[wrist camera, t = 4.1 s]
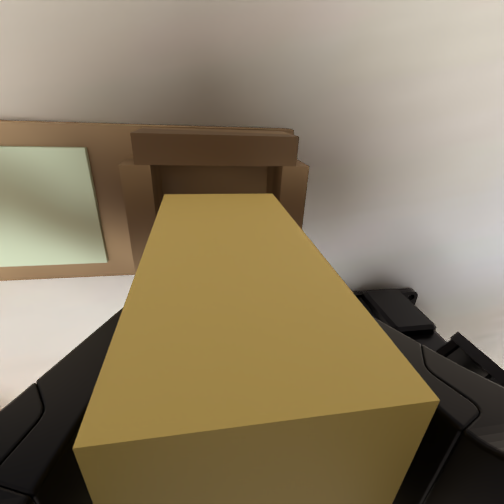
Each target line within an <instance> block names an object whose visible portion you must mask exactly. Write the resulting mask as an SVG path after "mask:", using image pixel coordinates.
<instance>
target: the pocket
mask: <svg viewBox="0 0 504 504" xmlns="http://www.w3.org/2000/svg"><path fill="white" fill-rule="evenodd" d="M130 136H131V143H132V151H133V154H132V155H130V156H129V157H128V158H127V159H125V160H124V161H123V162H122V163H120V164H119V171H120V178H121V184H122V191H123V197H124V204H125V210H126V216H127V223H128V229H129V236H130V242H131V249H132V255H133V261H134V268H135V274H136V271H137V269H138V266H139V263H140V260H141V258H142V255H143V252H144V249H145V246H146V244H147V241H148V238H149V235H150V233H151V230H152V227H153V224H154V222H155V219H156V216H157V213H158V211H159V208H160V205H161V202H162V200H163V193H162V182H161V172H160V165H190V166H268V170H267V187H266V194H273V195H274V196H275V197H276V199H277V200H278V201H279V202H280V203H281V205H282V206H283V207H284V208H285V210H286V211H287V212H288V213H289V215H290V216H291V217H292V218H293V220H294V221H295V222H296V223H297V224H298V226H299V227H300V228H301V229H302V224H303V215H304V207H305V199H306V190H307V182H308V173H309V166H308V165H306V164H304V163H302V162H301V161H299V160H297V152H298V142H299V137H298V136H295V135H292V134H289V133H286V132H283V131H267V130H231V129H195V128H159V127H142V128H140V129H138V130H135V131H133V132H131V133H130Z"/></svg>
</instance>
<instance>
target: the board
mask: <svg viewBox="0 0 504 504" xmlns="http://www.w3.org/2000/svg"><path fill="white" fill-rule="evenodd" d="M142 127H159V128H195V129H231V130H267V131H283V132H286V133H289V134H292V135H294V130H292V129H284V128H249V127H215V126H180V125H146V124H111V123H76V122H42V121H7V120H0V281H7V280H28V279H50V278H71V277H93V276H115V275H135V268H134V261H133V255H132V249H131V242H130V236H129V229H128V223H127V216H126V210H125V204H124V197H123V191H122V184H121V178H120V171H119V164H120V163H122V162H123V161H124V160H125V159H127V158H128V157H129V156H130V155H132V154H133V151H132V143H131V136H130V133H131V132H133V131H135V130H138V129H140V128H142ZM267 170H268V166H190V165H160V172H161V182H162V193H163V197H164V194H266V187H267Z"/></svg>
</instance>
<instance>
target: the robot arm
mask: <svg viewBox="0 0 504 504" xmlns="http://www.w3.org/2000/svg"><path fill="white" fill-rule="evenodd" d="M353 293H354V295H355V296H356V297H357V298H358V300H359V301H360V302H361V303H362V305H363V306H364V307H365V308H366V309H367V311H368V312H369V313H370V314H371V316H372V317H373V318H374V319H375V321H376V322H377V323H378V324H379V326H380V327H381V328H382V329H383V330H384V332H385V333H386V334H387V335H388V337H389V338H390V339H391V340H392V342H393V343H394V344H395V345H396V346H397V348H398V349H399V350H400V351H401V353H402V354H403V355H404V356H405V358H406V359H407V360H408V361H409V362H410V364H411V365H412V366H413V367H414V369H415V370H416V371H417V372H418V374H419V375H420V376H421V377H422V379H423V380H424V381H425V382H426V383H427V385H428V386H429V387H430V388H431V390H432V391H433V392H434V393H435V395H436V396H437V397H438V398H439V399H440V402H439V404H438V406H437V408H436V410H435V413H434V415H433V417H432V419H431V421H430V423H429V425H428V428H427V430H426V432H425V434H424V436H423V438H422V441H421V443H420V445H419V447H418V449H417V451H416V453H415V456H414V458H413V460H412V462H411V464H410V466H409V468H408V471H407V473H406V475H405V477H404V479H403V481H402V484H401V486H400V488H399V490H398V492H397V494H396V496H395V499H394V501H393V503H392V504H504V370H503V369H501V368H500V367H499V366H498V365H497V364H496V363H494V362H493V361H492V360H491V359H490V358H488V357H487V356H486V355H485V354H484V353H483V352H481V351H480V350H479V349H478V348H477V347H475V346H474V345H473V344H472V343H471V342H470V341H468V340H467V339H466V338H465V337H464V336H462V335H461V334H460V333H459V332H457V333H456V334H454V335H453V336H452V337H450V338H451V340H450V341H448V342H446V341H445V340H444V339H443V338H442V337H441V336H440V335H439V334H438V333H437V332H436V331H435V329H436V326H435V325H434V323H433V322H432V321H431V320H430V319H429V318H427V317H426V316H425V315H424V314H423V313H422V312H421V311H420V310H419V309H418V308H417V307H416V306H415V302H416V299H417V296H418V294H417V293H416V292H415V291H414V290H413V289H387V290H371V291H364V292H353ZM122 310H123V308H122V309H121V310H120V311H118V312H117V313H116V314H115V315H114V316H112V317H111V318H110V319H109V320H108V321H107V322H105V323H104V324H103V325H102V326H101V327H99V328H98V329H97V330H96V331H95V332H94V333H92V334H91V335H90V336H89V337H88V338H86V339H85V340H84V341H83V342H82V343H81V344H79V345H78V346H77V347H76V348H75V349H73V350H72V351H71V352H70V353H69V354H68V355H66V356H65V357H64V358H63V359H62V360H60V361H59V362H58V363H57V364H56V365H55V366H53V367H52V368H51V369H50V370H49V371H47V372H46V373H45V374H44V375H43V376H42V377H40V378H39V379H38V380H37V381H36V383H37V384H36V383H33V384H32V385H31V386H30V387H28V388H27V389H26V390H25V391H24V392H22V393H21V394H20V395H19V396H18V397H17V398H15V399H14V400H13V401H12V402H10V403H9V404H8V405H7V406H5V407H4V408H3V409H2V410H1V411H0V504H93V502H92V499H91V497H90V494H89V492H88V489H87V486H86V484H85V481H84V478H83V476H82V473H81V470H80V468H79V465H78V462H77V460H76V457H75V454H74V452H73V449H72V448H73V445H74V443H75V440H76V437H77V434H78V432H79V429H80V426H81V423H82V420H83V418H84V415H85V412H86V409H87V407H88V404H89V401H90V398H91V396H92V393H93V390H94V387H95V385H96V382H97V379H98V376H99V374H100V371H101V368H102V365H103V362H104V360H105V357H106V354H107V351H108V349H109V346H110V343H111V340H112V338H113V335H114V332H115V329H116V327H117V324H118V321H119V318H120V316H121V313H122Z"/></svg>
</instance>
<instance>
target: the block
mask: <svg viewBox="0 0 504 504" xmlns="http://www.w3.org/2000/svg"><path fill="white" fill-rule="evenodd" d="M439 402H440V399H439V398H438V397H437V396H436V395H435V393H434V392H433V391H432V390H431V388H430V387H429V386H428V385H427V383H426V382H425V381H424V380H423V379H422V377H421V376H420V375H419V374H418V372H417V371H416V370H415V369H414V367H413V366H412V365H411V364H410V362H409V361H408V360H407V359H406V358H405V356H404V355H403V354H402V353H401V351H400V350H399V349H398V348H397V346H396V345H395V344H394V343H393V342H392V340H391V339H390V338H389V337H388V335H387V334H386V333H385V332H384V330H383V329H382V328H381V327H380V326H379V324H378V323H377V322H376V321H375V319H374V318H373V317H372V316H371V314H370V313H369V312H368V311H367V309H366V308H365V307H364V306H363V305H362V303H361V302H360V301H359V300H358V298H357V297H356V296H355V295H354V293H353V292H352V291H351V290H350V289H349V287H348V286H347V285H346V284H345V282H344V281H343V280H342V279H341V277H340V276H339V275H338V274H337V273H336V271H335V270H334V269H333V268H332V266H331V265H330V264H329V263H328V261H327V260H326V259H325V258H324V256H323V255H322V254H321V253H320V252H319V250H318V249H317V248H316V247H315V245H314V244H313V243H312V242H311V240H310V239H309V238H308V237H307V236H306V234H305V233H304V232H303V231H302V229H301V228H300V227H299V226H298V224H297V223H296V222H295V221H294V220H293V218H292V217H291V216H290V215H289V213H288V212H287V211H286V210H285V208H284V207H283V206H282V205H281V203H280V202H279V201H278V200H277V199H276V197H275V196H274V195H273V194H164V197H163V200H162V202H161V205H160V208H159V211H158V213H157V216H156V219H155V222H154V224H153V227H152V230H151V233H150V235H149V238H148V241H147V244H146V246H145V249H144V252H143V255H142V258H141V260H140V263H139V266H138V269H137V271H136V274H135V277H134V280H133V282H132V285H131V288H130V291H129V293H128V296H127V299H126V302H125V304H124V307H123V310H122V313H121V316H120V318H119V321H118V324H117V327H116V329H115V332H114V335H113V338H112V340H111V343H110V346H109V349H108V351H107V354H106V357H105V360H104V362H103V365H102V368H101V371H100V374H99V376H98V379H97V382H96V385H95V387H94V390H93V393H92V396H91V398H90V401H89V404H88V407H87V409H86V412H85V415H84V418H83V420H82V423H81V426H80V429H79V432H78V434H77V437H76V440H75V443H74V445H73V448H72V449H73V452H74V454H75V457H76V460H77V462H78V465H79V468H80V470H81V473H82V476H83V478H84V481H85V484H86V486H87V489H88V492H89V494H90V497H91V499H92V502H93V504H392V503H393V501H394V499H395V496H396V494H397V492H398V490H399V488H400V486H401V484H402V481H403V479H404V477H405V475H406V473H407V471H408V468H409V466H410V464H411V462H412V460H413V458H414V456H415V453H416V451H417V449H418V447H419V445H420V443H421V441H422V438H423V436H424V434H425V432H426V430H427V428H428V425H429V423H430V421H431V419H432V417H433V415H434V413H435V410H436V408H437V406H438V404H439Z"/></svg>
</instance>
